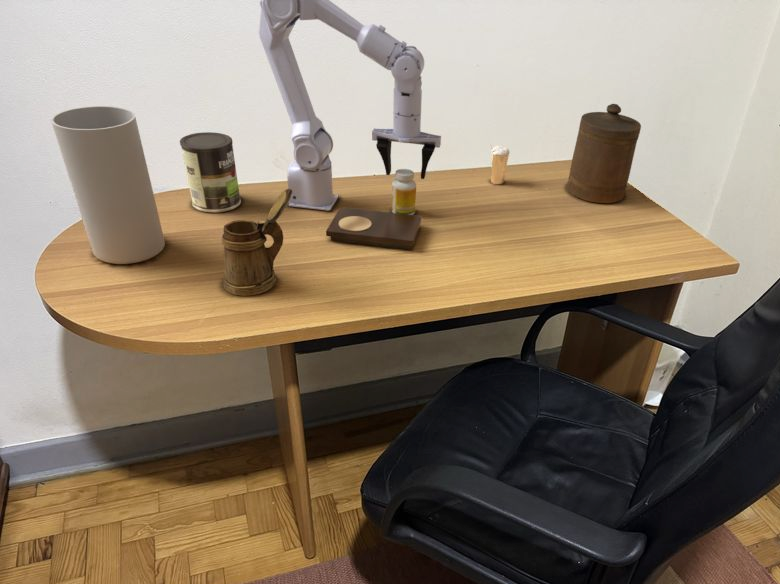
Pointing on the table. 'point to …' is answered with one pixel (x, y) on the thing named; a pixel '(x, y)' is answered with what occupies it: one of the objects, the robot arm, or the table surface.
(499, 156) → the milkshake
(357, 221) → the stand
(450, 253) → the table surface
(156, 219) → the cylinder vase
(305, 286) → the table surface
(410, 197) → the supplement bottle
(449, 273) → the table surface
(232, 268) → the wooden mug
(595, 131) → the wooden container
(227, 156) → the coffee can
